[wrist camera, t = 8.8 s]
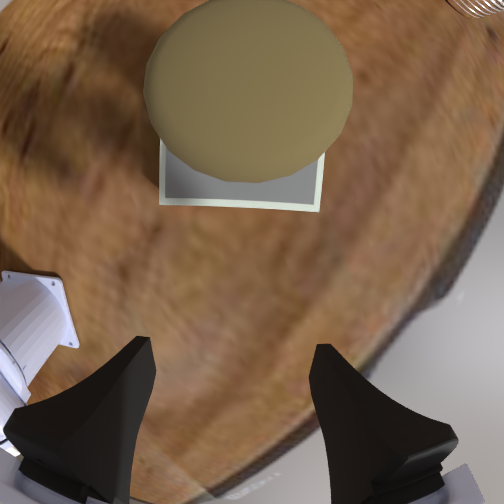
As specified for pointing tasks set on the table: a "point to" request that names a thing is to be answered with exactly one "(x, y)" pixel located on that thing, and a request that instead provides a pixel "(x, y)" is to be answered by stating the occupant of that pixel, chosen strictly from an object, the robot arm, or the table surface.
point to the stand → (238, 187)
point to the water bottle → (477, 7)
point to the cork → (248, 89)
